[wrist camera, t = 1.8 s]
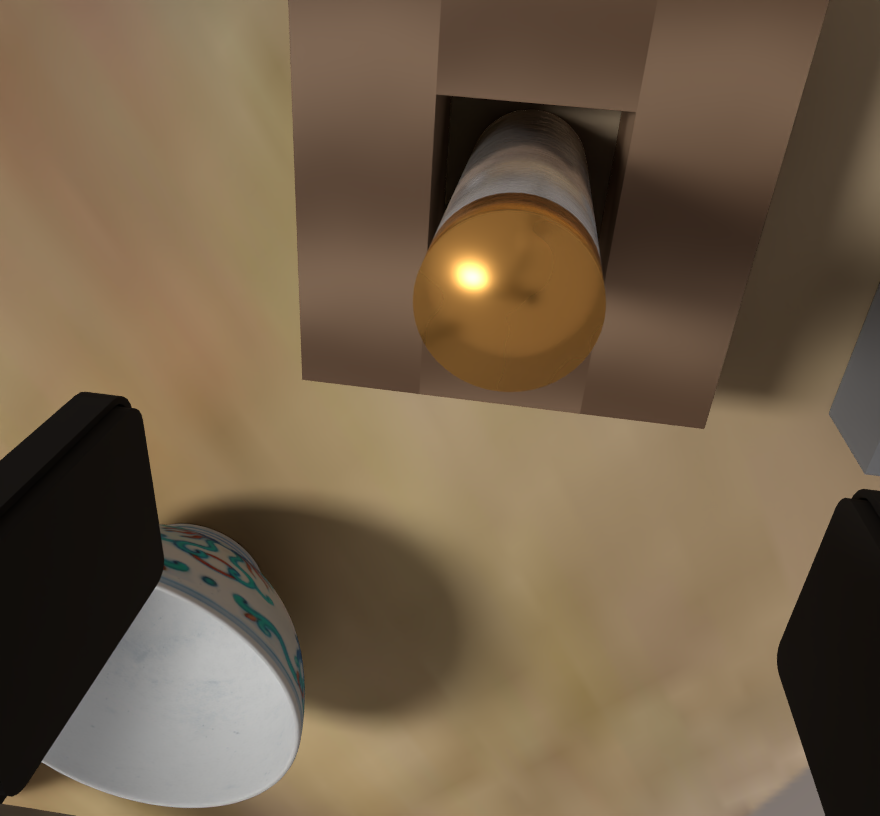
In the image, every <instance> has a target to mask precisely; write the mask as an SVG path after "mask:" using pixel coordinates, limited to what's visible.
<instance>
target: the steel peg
mask: <svg viewBox="0 0 880 816" xmlns="http://www.w3.org/2000/svg"><path fill="white" fill-rule="evenodd" d="M413 312H414V318H415V322H416V326H417V329H418V332H419V334H420V336H421V338H422V341H423V343H424V344H425V346H426V347H427V349H428V351H429V352H430V353H431V355H432V356H433V357H434V358H435V359H436V361H437V362H438V363H440V364H441V365H442V366H443V367H444V368H445V369H446V370H447V371H449V372H450V373H451V374H453V375H454V376H456V377H458V378H459V379H461V380H463V381H465V382H467V383H469V384H472V385H474V386H477V387H480V388H484V389H487V390H493V391H500V392H522V391H528V390H534V389H537V388H541V387H544V386H547V385H549V384H551V383H554V382H556V381H558V380H559V379H561V378H563V377H565V376H566V375H568V374H569V373H570V372H572V371H573V370H574V369H576V368H577V367H578V366H579V365H580V364H581V363H582V362H583V361H584V360H585V358H586V357H587V356H588V355H589V353H590V352H591V351H592V349H593V347H594V345H595V344H596V342H597V340H598V338H599V335H600V333H601V331H602V327H603V323H604V320H605V312H606V294H605V287H604V280H603V272H602V265H601V258H600V251H599V244H598V237H597V230H596V223H595V216H594V209H593V202H592V195H591V188H590V181H589V174H588V167H587V160H586V154H585V150H584V147H583V145H582V142H581V140H580V138H579V137H578V135H577V134H576V132H575V131H574V130H573V128H572V127H571V126H570V125H569V124H568V123H566V122H565V121H564V120H563V119H561V118H560V117H558V116H556V115H554V114H552V113H549V112H546V111H542V110H536V109H525V110H518V111H514V112H511V113H508V114H506V115H504V116H502V117H500V118H498V119H497V120H496V121H494V122H493V123H492V124H490V125H489V126H488V127H487V128H486V129H485V131H484V132H483V133H482V135H481V136H480V138H479V139H478V141H477V143H476V145H475V147H474V149H473V151H472V154H471V156H470V158H469V160H468V163H467V165H466V167H465V169H464V171H463V174H462V176H461V178H460V180H459V182H458V185H457V187H456V189H455V191H454V193H453V196H452V198H451V200H450V202H449V205H448V207H447V209H446V211H445V213H444V216H443V218H442V220H441V222H440V224H439V227H438V229H437V231H436V233H435V236H434V238H433V240H432V242H431V244H430V247H429V249H428V251H427V253H426V255H425V258H424V260H423V262H422V264H421V267H420V269H419V271H418V274H417V277H416V281H415V285H414V292H413Z"/></svg>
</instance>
